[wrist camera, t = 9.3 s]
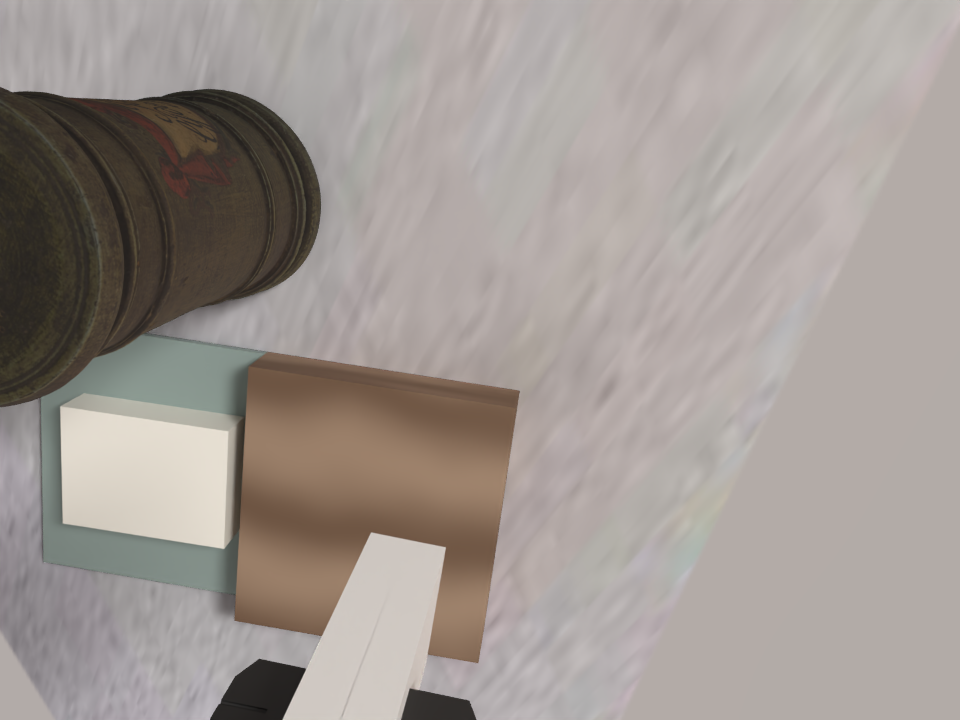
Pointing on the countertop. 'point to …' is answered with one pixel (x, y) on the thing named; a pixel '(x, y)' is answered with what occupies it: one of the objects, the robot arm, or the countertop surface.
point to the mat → (160, 380)
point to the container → (137, 220)
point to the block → (151, 469)
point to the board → (368, 489)
